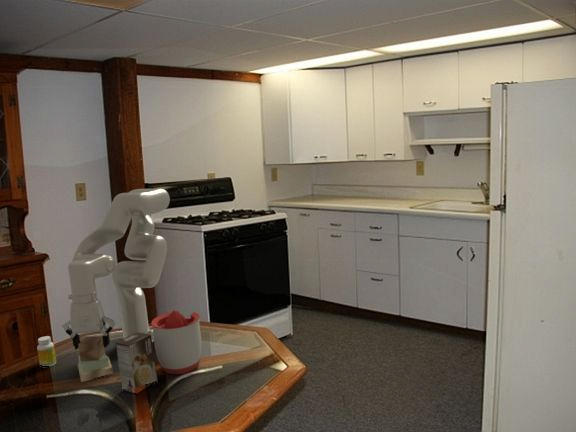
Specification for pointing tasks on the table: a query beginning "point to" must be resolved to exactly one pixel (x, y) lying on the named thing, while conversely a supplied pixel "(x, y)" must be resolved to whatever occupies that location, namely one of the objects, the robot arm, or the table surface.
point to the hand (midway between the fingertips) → (92, 346)
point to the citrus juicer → (177, 342)
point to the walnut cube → (91, 348)
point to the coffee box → (136, 360)
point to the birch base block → (95, 372)
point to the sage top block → (93, 364)
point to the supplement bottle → (46, 351)
